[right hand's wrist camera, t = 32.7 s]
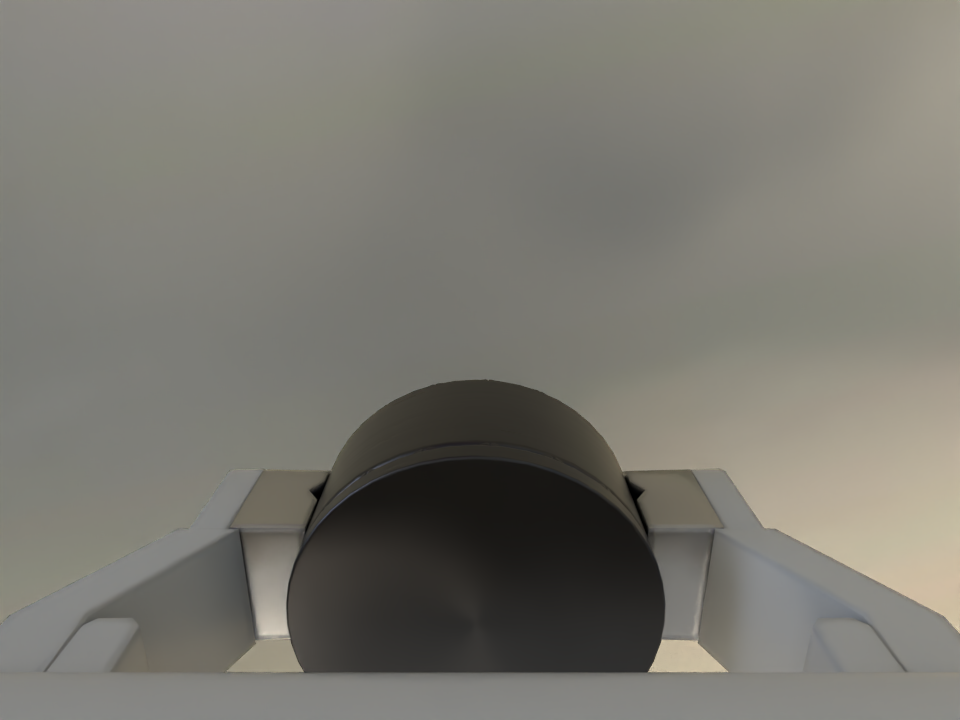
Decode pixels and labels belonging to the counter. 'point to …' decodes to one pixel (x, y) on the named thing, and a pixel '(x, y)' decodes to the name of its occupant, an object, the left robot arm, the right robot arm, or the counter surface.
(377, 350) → the counter surface
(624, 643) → the cap
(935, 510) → the counter surface
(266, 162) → the counter surface
